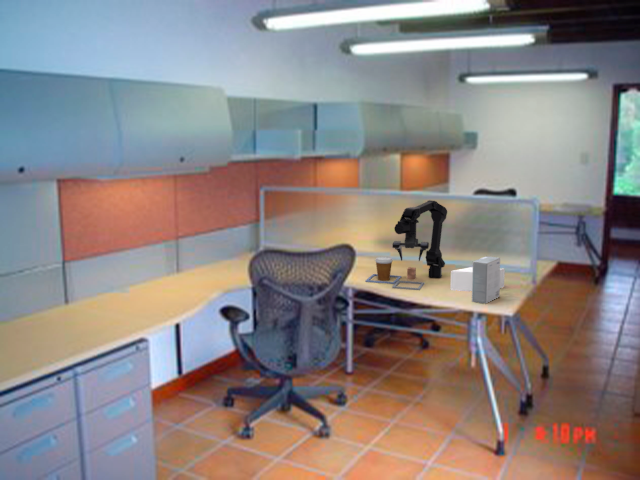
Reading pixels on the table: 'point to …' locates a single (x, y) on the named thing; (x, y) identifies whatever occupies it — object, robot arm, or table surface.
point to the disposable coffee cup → (383, 268)
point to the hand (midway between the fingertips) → (410, 260)
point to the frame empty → (408, 287)
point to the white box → (467, 279)
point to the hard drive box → (486, 279)
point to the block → (411, 273)
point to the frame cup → (382, 281)
